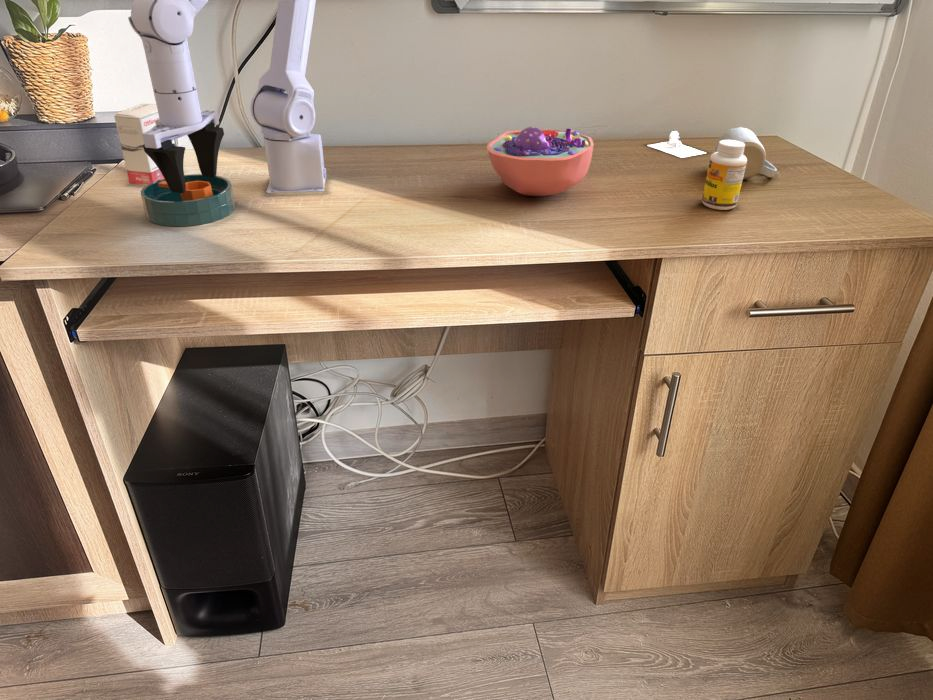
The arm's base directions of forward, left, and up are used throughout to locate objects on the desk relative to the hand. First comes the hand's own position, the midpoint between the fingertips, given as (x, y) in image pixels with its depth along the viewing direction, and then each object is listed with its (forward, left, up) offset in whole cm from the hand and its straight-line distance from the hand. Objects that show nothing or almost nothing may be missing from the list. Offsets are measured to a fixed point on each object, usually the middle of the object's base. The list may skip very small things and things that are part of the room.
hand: (194, 183), depth 103 cm
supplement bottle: (-83, +4, -5) cm, 83 cm away
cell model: (-55, -6, -5) cm, 56 cm away
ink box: (+11, -19, -5) cm, 22 cm away
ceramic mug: (-95, -11, -5) cm, 96 cm away
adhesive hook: (-89, -28, -5) cm, 93 cm away
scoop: (+2, -1, -4) cm, 5 cm away
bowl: (+1, -1, -5) cm, 5 cm away
